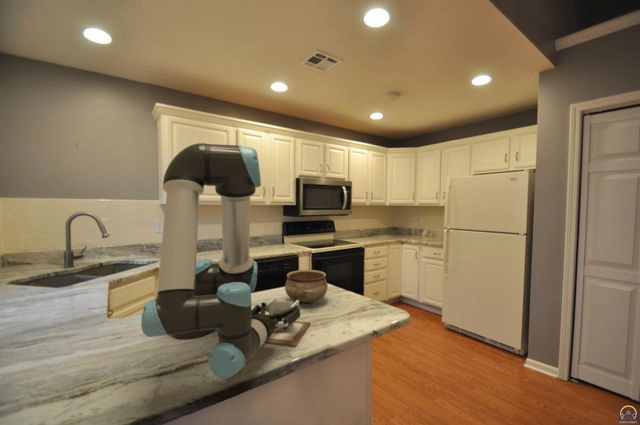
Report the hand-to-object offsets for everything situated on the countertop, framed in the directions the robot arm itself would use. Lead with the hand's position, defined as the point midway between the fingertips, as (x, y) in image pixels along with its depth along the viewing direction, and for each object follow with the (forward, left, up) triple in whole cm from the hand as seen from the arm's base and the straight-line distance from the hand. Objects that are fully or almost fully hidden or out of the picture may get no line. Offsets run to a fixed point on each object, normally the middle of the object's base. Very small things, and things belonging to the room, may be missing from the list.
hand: (286, 302), depth 93 cm
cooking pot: (0, +24, -8) cm, 26 cm away
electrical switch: (0, -5, -6) cm, 8 cm away
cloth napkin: (0, -5, -8) cm, 10 cm away
